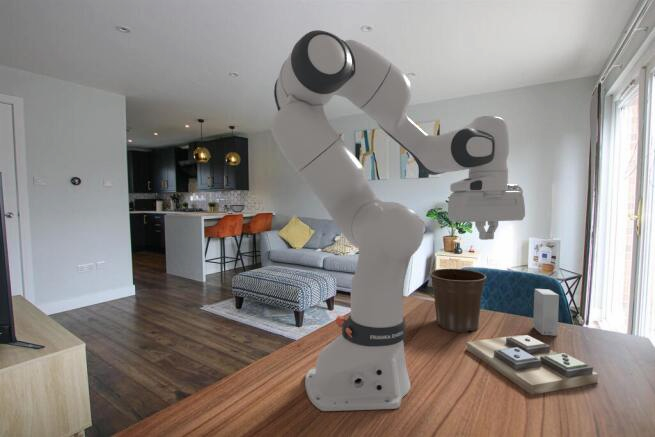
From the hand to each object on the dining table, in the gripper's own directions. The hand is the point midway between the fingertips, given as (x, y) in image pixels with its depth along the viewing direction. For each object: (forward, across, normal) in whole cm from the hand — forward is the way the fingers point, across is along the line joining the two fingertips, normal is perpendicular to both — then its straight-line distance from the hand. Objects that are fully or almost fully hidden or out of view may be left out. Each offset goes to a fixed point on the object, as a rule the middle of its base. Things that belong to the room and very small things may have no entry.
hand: (486, 239), depth 81 cm
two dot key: (+27, -1, +10) cm, 29 cm away
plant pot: (+29, -4, -17) cm, 34 cm away
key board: (+29, -5, +8) cm, 31 cm away
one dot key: (+27, -9, +5) cm, 29 cm away
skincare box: (+29, -26, -6) cm, 40 cm away
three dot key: (+27, -9, +14) cm, 32 cm away
